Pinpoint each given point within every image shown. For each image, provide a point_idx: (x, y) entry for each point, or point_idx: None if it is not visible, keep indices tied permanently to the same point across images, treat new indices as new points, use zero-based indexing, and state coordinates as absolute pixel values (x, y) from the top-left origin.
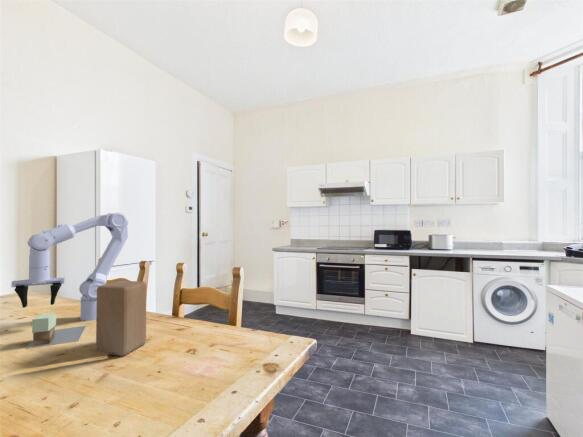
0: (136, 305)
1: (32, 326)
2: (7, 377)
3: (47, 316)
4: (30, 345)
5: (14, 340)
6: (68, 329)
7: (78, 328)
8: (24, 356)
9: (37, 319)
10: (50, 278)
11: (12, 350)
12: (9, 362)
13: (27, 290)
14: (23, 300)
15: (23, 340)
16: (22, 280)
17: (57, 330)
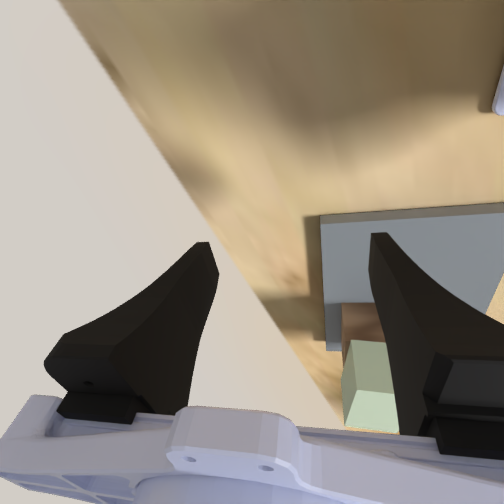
0: None
1: (342, 399)
2: (335, 410)
3: (390, 420)
4: (332, 336)
5: (244, 239)
6: (439, 238)
7: (485, 240)
8: (332, 356)
9: (360, 426)
10: (405, 501)
11: (285, 316)
12: (312, 369)
13: (150, 323)
14: (200, 320)
15: (277, 251)
16: (51, 470)
17: (390, 234)
